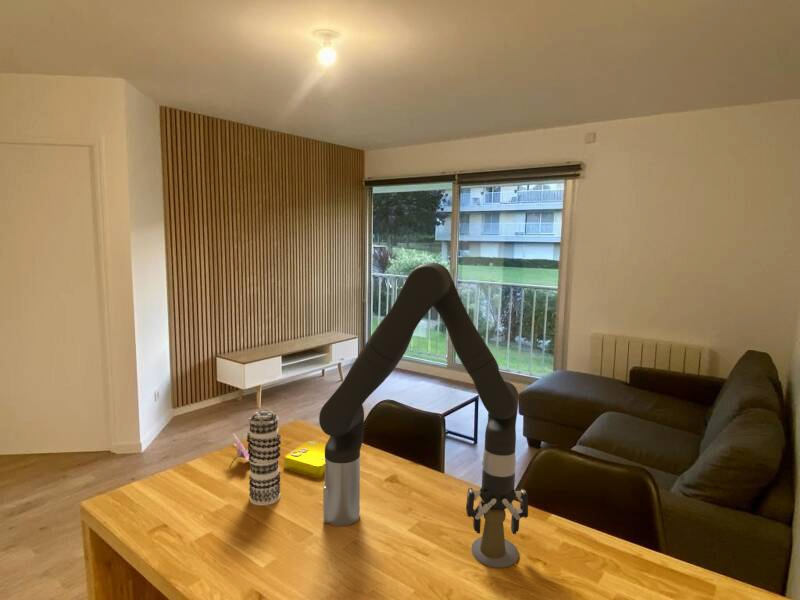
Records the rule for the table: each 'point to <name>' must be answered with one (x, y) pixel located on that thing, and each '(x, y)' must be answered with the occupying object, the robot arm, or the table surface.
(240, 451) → the lily
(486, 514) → the olive game pawn
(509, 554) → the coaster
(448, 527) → the table surface
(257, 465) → the decorative candle
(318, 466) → the element tile
